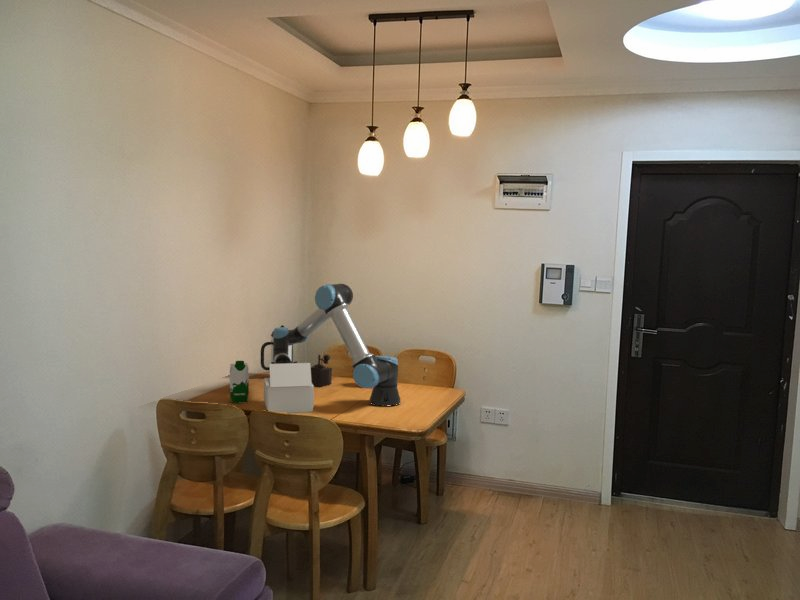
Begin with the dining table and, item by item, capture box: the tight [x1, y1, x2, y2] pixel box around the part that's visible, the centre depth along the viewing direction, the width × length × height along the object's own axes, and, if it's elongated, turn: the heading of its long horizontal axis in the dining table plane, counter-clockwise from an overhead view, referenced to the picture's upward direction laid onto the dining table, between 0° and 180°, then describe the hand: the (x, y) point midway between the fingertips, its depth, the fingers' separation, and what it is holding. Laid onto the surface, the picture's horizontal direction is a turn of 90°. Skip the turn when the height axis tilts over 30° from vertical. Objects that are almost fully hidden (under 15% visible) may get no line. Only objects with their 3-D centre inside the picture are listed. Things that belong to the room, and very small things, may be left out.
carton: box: [263, 377, 315, 414], centre depth 313 cm, size 22×21×12 cm
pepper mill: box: [311, 354, 333, 388], centre depth 361 cm, size 16×11×18 cm
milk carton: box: [229, 360, 250, 404], centre depth 321 cm, size 9×9×20 cm
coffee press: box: [260, 325, 294, 377], centre depth 376 cm, size 17×16×30 cm
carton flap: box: [268, 362, 312, 388], centre depth 303 cm, size 11×19×1 cm
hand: (287, 370), depth 308 cm, fingers closed
